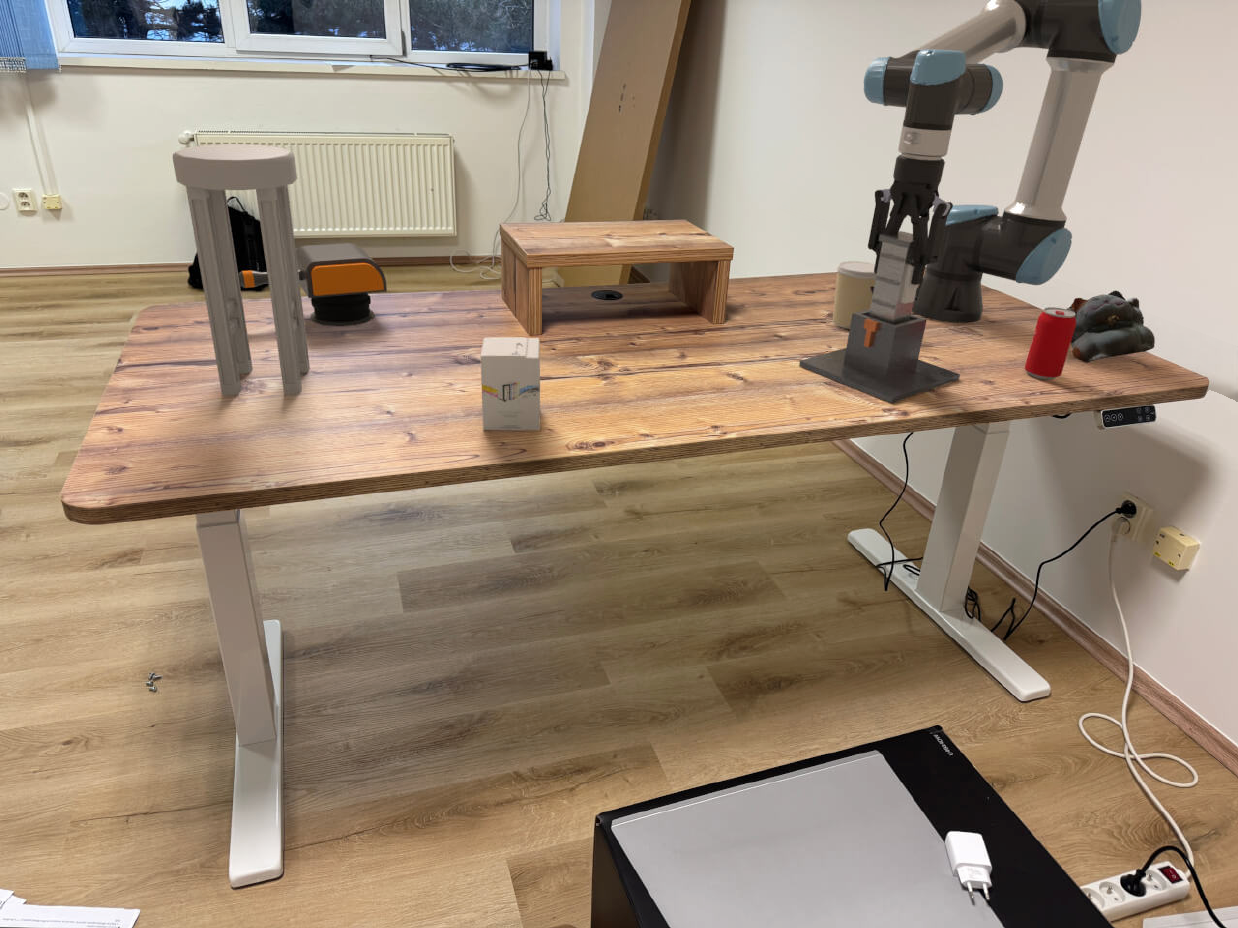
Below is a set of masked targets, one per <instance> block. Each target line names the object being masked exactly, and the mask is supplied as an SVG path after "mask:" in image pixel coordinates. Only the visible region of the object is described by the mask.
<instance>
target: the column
mask: <svg viewBox="0 0 1238 928" xmlns="http://www.w3.org/2000/svg"><path fill="white" fill-rule="evenodd" d="M879 241H882V242H883V243H882V248H881V254H880V259H879V264H878V269H877V275H876V280H875V285H874V291H873V296H872V301H871V307H870V312H869V317H871V318H874V319H877V320H880V321H883V322H886V323H889V324H892V325H897V324H900V323H904V322H908V321H910V317H911V314H912V313H913V312H912V308H913V303H914V302H910V303H906V304H904V303H901V300H902V295H903V290H904V285H905V280H906V275H907V270H908V265H909V264H911V263H913V248H914V247H915V246H916V242H917V241H914V240H913V233H910V232H906V231H903V230H899V232H898V233H895V234H880V236H879Z"/></svg>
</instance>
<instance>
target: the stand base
mask: <svg viewBox="0 0 1238 928" xmlns="http://www.w3.org/2000/svg"><path fill="white" fill-rule="evenodd" d="M869 312H870V309H868V310H864V311H860V312H856V313H853V314H852V320H851V325H850V329H849V331H848V338H847V341H846V342H847V343H846V347H845V348H841V349H837V350H834V351H830V352H826V353H823V354H819V355H816V356H813V357H808V358H805V359H801V360H799V365H798V366H799V367H801V368H804V369H806V370H807V371H811V372H813V373H816V374H818V375H821V376H823V377H826V378H828V379H830V380H833V381H836V382H838V383H841V384H843V385H845V386H847V387H850V388H852V389H855V390H858V391H859V392H863V393H865V394H867V395H870V396H873V397H875V398H877V399H880V400H882V401H885V402H886V403H890V404H893V403H897V402H899V401H902V400H905V399H908V398H911V397H913V396H916V395H919V394H922V393H925V392H928V391H930V390H934V389H936V388H939V387H941V386H944V385H947V384H950V383H953V382H956V381H959V380H960V376H961V374H959V373H957V372H955V371H951V370H949V369H946V368H943V367H940V366H938V365H936V364H935V365H934V364H932V363H930V362H926V361H924V360H920V359H919V356H920V352H921V349H922V343H923V338H924V334H925V330H926V329H925V328H926V325H927V321H928V320H927V319H928V318H925V317H922V316H919V315H916V314H912V313H911V317H910V321H908V322H904V323H900V324H897V325H892V324H889V323H886V322H883V321H880V320H877V319H874V318H871V317H869Z"/></svg>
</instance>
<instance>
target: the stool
mask: <svg viewBox="0 0 1238 928" xmlns="http://www.w3.org/2000/svg"><path fill="white" fill-rule="evenodd" d="M172 162H173V166H174V173H175V178H176V182H177V183H178V184H180V185H182V186H185V188H186V195H187V200H188V206H189V213H190V217H191V218H190V219H191V223H192V224H191V225H192V228H193V229H192V230H193V235H194V243H195V247H196V252H197V258H198V264H199V269H200V275H201V281H202V282H201V283H202V287H203V293H204V297H205V299H204V300H205V305H206V311H207V316H208V321H209V322H208V323H209V327H210V332H211V338H212V339H211V340H212V345H213V349H214V357H215V362H216V363H215V364H216V366H217V372H218V378H219V384H220V389H221V396H223V397H224V396H225V397H228V396H229V397H230V396H231V397H232V396H239V395H240V393H241V391H242V386H241V380H240V375H241V374H242V375H243V374H245V375H246V374H251V373H252V372H253V369H254V368H253V363H252V356H251V355H252V354H251V350H250V342H249V337H248V329H247V323H246V317H245V315H246V314H245V311H244V310H245V309H244V303H243V297H242V296H243V295H242V290H241V286H240V283H239V276H238V274H239V271H238V265H237V257H236V252H235V251H236V250H235V245H234V238H233V232H232V226H231V219H230V214H229V208H228V207H229V205H228V200H227V195H226V191H249V190H250V191H251V190H255V191H256V192H255V194H256V200H257V202H256V203H257V208H258V209H257V210H258V215H259V222H260V229H261V236H262V244H263V245H262V246H263V251H264V259H265V264H266V272H267V274H268V281H269V284H268V287H269V295H270V301H271V302H270V303H271V309H272V310H271V311H272V317H273V324H274V330H275V331H274V332H275V338H276V345H277V352H278V360H279V366H280V375H281V381H282V389H283V395H301V392H302V389H303V388H302V381H301V380H302V379H301V374H303V373H304V374H305V373H309V371H310V369H311V366H310V358H309V349H308V342H307V333H306V325H305V317H304V309H303V301H302V292H301V285H300V282H299V274H298V266H297V258H296V250H297V249H296V243H295V236H294V234H295V233H294V227H293V226H294V225H293V218H292V211H291V210H292V209H291V201H290V193H289V187H288V185H292V184H294V183H295V182H296V181H297V179H298V177H297V176H298V174H297V165H296V159H295V153H294V152H292V150H288V149H286V148H283V147H279V146H272V145H271V146H270V145H264V144H250V143H249V144H247V143H246V144H245V143H244V144H242V143H222V144H221V143H220V144H204V145H197V146H189V147H183V148H180V149H179V150H176V151H175V152H173V154H172ZM300 373H301V374H300ZM239 374H240V375H239Z"/></svg>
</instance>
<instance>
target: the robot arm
mask: <svg viewBox="0 0 1238 928" xmlns="http://www.w3.org/2000/svg"><path fill="white" fill-rule="evenodd" d="M1141 19H1142V0H990V1H989V2H988V3H986V5H984V7H983V8H982V9H981V11H980V13H978V14H977V15H975V16H974V17H973V16H972V17H971V18H969V19H967V20H966V21H964V22H963V23H960V24H959V25H957V26H955V27H953V28H952V29H949V30H947V31H946V32H944V33H943V34H941V35H939V36H937V37H935V38H933V39H931V40H929V41H928V42H926V43H924V44H923V45H920V46H919V47H917V48H915V49H913V50H911V51H910V52H908V53H906V54H904V55H902V56H899V57H893V56H887V57H886V56H885V57H883V56H882V57H877V58H875V59H874V60H872V61H871V63H870V64H869V65H868V66H867V68H866V71H865V74H864V77H863V93H864V95H865V98H866V100H867V101H869V102H870V103H872V104H878V105H883V106H884V107H894V108H895V107H898V108H905V113H904V119H903V121H902V128H901V132H900V138H899V142H898V143H899V144H898V147H897V148H898V149H897V150H898V152H899V153H901V154H899V155H898V156H896V158H895V164H894V169H893V174H892V176H893V177H892V178H893V182H892V185H891V186H890V188H885V189H877V190H875V191H874V201H875V207H874V210H873V211H874V212H873V217H872V222H871V228H870V230H869V231H870V233H869V238H868V243H867V248H868V249H869V250H871V251H873V252H874V253H875V254H876V258H875V263H874V264H875V267H874V273H876V274H877V269H878V264H879V259H880V254H881V248H882V243H883V242H882V241H879V236H880V234H895V233H898V232H899V231H901V230H900V229H901V227H902V225H903V223H904V220H905V219H906V218H907V217H910V223H911V224H912V234H913V240H914V241H917V242H916V246H915V247H914V248H913V263H911V264H909V265H908V270H907V275H906V280H905V285H904V290H903V295H902V300H901V303H904V304H906V303H910V302H914V303H913V308H912V312H911V313H914V315H916V316H918V317H921V318H924V319H929V320H934V321H937V322H944V323H953V324H968V323H969V324H970V323H971V324H972V323H974V322H978V321H980V320H981V319H982V315H983V311H984V305H983V293H982V279H983V275H984V274H986V275H988V276H989V275H990V276H993V277H998V278H1001V279H1005V280H1010V281H1014V282H1016V283H1018V284H1025V285H1032V286H1040V285H1043V284H1046V283H1047V282H1048V281H1050V280H1051V279H1053V277H1055V275H1056V274H1057V273H1058V272H1059V271H1060V269H1061V267H1062V266H1063V265H1064V263H1065V261H1066V259H1067V257H1068V255H1069V252H1070V250H1071V247H1072V239H1073V233H1072V232H1071V230H1069V229H1068V228H1066V227H1065V225H1066V224H1067V223H1066V222H1067V219H1068V217H1067V216H1066V214H1065V213H1064V211H1063V209H1062V207H1063V203H1064V201H1065V197H1066V194H1067V190H1068V187H1069V184H1070V181H1071V177H1072V174H1073V170H1074V166H1075V164H1076V161H1077V157H1078V155H1079V151H1080V147H1081V145H1082V141H1083V138H1084V135H1085V131H1086V128H1087V124H1088V122H1089V117H1090V114H1091V111H1092V109H1093V105H1094V101H1095V98H1096V95H1097V92H1098V88H1099V85H1100V82H1101V79H1102V76H1103V74H1105V72H1107V71H1108V70H1109V69H1111V68H1112V67H1114V66H1115V62H1116V59H1117V57H1118V55H1122V54H1125V53H1127V52H1128V51H1129V50H1130V49H1131V48H1132V47H1133V45H1134V44H1133V43H1134V42H1135V40H1136V38H1137V36H1138V32H1139V30H1140V29H1139V28H1140V25H1141ZM1021 48H1031V49H1033V48H1034V49H1044V50H1047V52H1046V53H1047V54H1046V57H1045V61H1046V62H1047V64H1048V66H1049V67H1050V69H1051V71H1050V74H1049V79H1048V82H1047V86H1046V90H1045V92H1044V96H1043V99H1042V103H1041V107H1040V111H1039V114H1038V117H1037V122H1036V124H1035V127H1034V132H1033V135H1032V138H1031V139H1032V140H1031V143H1030V147H1029V150H1028V153H1027V157H1026V161H1025V164H1024V168H1023V172H1022V175H1021V178H1020V183H1019V185H1018V187H1017V192H1016V197H1015V199H1014V201H1013V202H1012V203H1010V204H1009V205H1008V206H1006V207H1004V209H1003V212H1002V216H1001V215H999V214H1000V210H999V208H998V206H996V205H989V204H955V205H954V204H953V203H952V202H951V201H947V202H946V201H945V200H943V199H942V198H941V197H940V193H939V186H940V185H941V182H942V178H943V174H944V173H943V172H944V168H945V164H946V161H945V160H944V159H943V157H945V156H947V154H948V150H949V145H950V140H951V136H952V130H953V125H954V119H955V116H956V115H958V116H959V115H961V116H962V115H970V116H976V115H979V114H983V113H987V112H988V111H990V110H992V108H994V107H995V106H996V105H997V103H998V102H999V100H1000V98H1001V97H1002V93H1003V89H1004V81H1003V80H1004V79H1003V77H1002V75H1001V72H1000V71H999V70H998V69H997V68H996V67H995V66H992V65H989V64H985V63H981V62H983V61H984V60H985V59H988V58H990V57H992V56H993V55H995V54H1004V53H1008V52H1010V51H1012V50H1014V49H1021ZM891 201H892V203H893V205H892V208H891ZM932 207H933V208H932ZM930 209H932V213H933V214H932V217H931V222H930V226H929V221H930ZM888 217H889V219H888ZM928 228H929V229H928Z"/></svg>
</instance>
